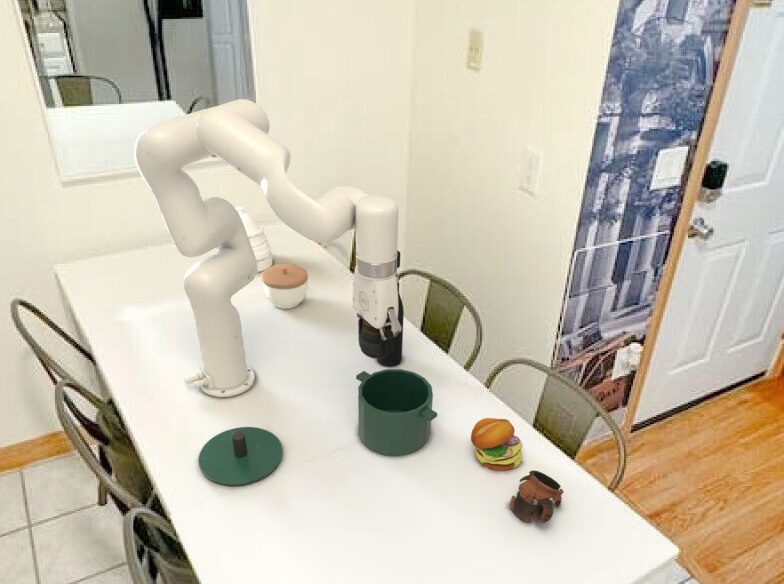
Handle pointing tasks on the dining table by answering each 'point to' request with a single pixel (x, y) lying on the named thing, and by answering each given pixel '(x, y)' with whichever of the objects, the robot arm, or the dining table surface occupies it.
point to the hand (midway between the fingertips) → (376, 343)
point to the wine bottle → (396, 356)
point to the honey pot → (257, 240)
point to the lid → (240, 455)
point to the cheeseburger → (496, 444)
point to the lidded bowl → (285, 285)
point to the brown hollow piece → (536, 497)
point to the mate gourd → (370, 339)
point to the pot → (394, 411)
